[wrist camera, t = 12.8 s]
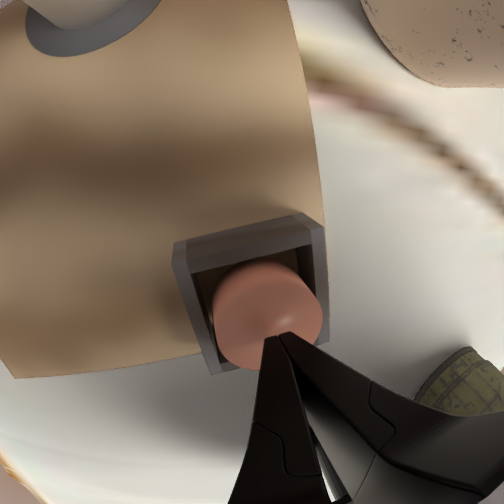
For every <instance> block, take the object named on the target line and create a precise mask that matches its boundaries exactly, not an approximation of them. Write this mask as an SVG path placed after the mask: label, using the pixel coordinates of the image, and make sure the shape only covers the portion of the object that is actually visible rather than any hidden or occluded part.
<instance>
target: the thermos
mask: <svg viewBox="0 0 504 504" xmlns="http://www.w3.org/2000/svg"><path fill="white" fill-rule="evenodd" d="M414 401H416V402H418V403H421V404H423V405H426V406H429V407H431V408H434V409H437V410H439V411H442V412H445V413H448V414H452V415H457V416H473V415H480V414H486V413H492V412H498V411H503V410H504V375H503V374H502V373H501V372H500V371H499V370H498V369H497V368H496V367H495V366H494V365H493V364H492V363H491V362H489V361H488V360H487V361H486V360H485V359H483V358H482V357H481V356H480V355H479V354H478V353H477V351H475V350H474V349H473V348H472V347H466V348H463V349H461V350H460V351H458V352H456V353H455V354H454V355H452V356H451V357H450V358H449V359H447V360H446V361H445V362H444V363H443V364H442V365H441V366H440V367H439V368H438V369H437V370H436V371H435V372H434V373H433V374H432V375H431V377H430V378H429V379H428V380H427V381H426V382H425V384H424V385H423V386H422V388H421V389H420V391H419V392H418V393H417V395H416V398H415V400H414Z"/></svg>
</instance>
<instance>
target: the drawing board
mask: <svg viewBox="0 0 504 504" xmlns="http://www.w3.org/2000/svg"><path fill="white" fill-rule="evenodd" d="M257 257H270V258H275V259H278V260H281V261H283V262H285V263H287V264H288V265H290V266H291V267H292V268H293V269H294V270H295V271H296V273H297V274H298V275H299V277H300V278H301V279H302V280H303V282H304V283H305V284H306V286H307V287H308V288H309V290H310V291H311V292H312V293H313V295H314V296H315V297H316V299H317V300H318V302H319V304H320V306H321V309H322V314H323V322H322V327H321V330H320V333H319V335H318V337H317V339H316V341H315V342H314V344H313V345H314V346H317V345H320V344H323V343H326V342H328V341H329V317H330V315H329V287H328V267H327V251H326V238H325V225H324V214H323V203H322V194H321V185H320V176H319V168H318V160H317V152H316V145H315V138H314V131H313V125H312V118H311V112H310V106H309V100H308V94H307V89H306V84H305V78H304V73H303V68H302V63H301V58H300V54H299V49H298V44H297V40H296V35H295V31H294V27H293V23H292V19H291V15H290V11H289V7H288V3H287V0H129V1H128V2H127V3H126V4H125V5H124V6H123V7H122V8H121V9H120V10H118V11H117V12H116V13H114V14H113V15H112V16H110V17H109V18H107V19H105V20H103V21H101V22H99V23H97V24H95V25H93V26H90V27H87V28H83V29H77V30H65V29H61V28H59V27H57V26H55V25H54V24H53V23H51V22H50V21H49V20H47V19H46V18H45V17H44V16H42V15H41V14H40V13H38V12H37V11H36V10H34V9H33V8H32V7H30V6H29V5H28V4H26V3H25V2H24V1H22V0H15V1H13V2H12V3H10V4H9V5H7V6H6V7H4V8H3V9H1V10H0V358H1V360H2V361H3V363H4V364H5V366H6V367H7V368H8V370H9V371H10V373H11V374H12V375H13V377H14V378H15V379H18V378H35V377H49V376H60V375H70V374H79V373H87V372H95V371H103V370H110V369H117V368H123V367H130V366H136V365H141V364H147V363H153V362H158V361H163V360H169V359H174V358H179V357H183V356H188V355H193V354H197V353H203V356H204V359H205V361H206V364H207V366H208V369H209V371H210V374H211V375H212V374H217V373H221V372H225V371H229V370H234V369H238V368H241V367H239V366H236V365H235V364H233V363H231V362H230V361H229V360H227V359H226V358H225V357H224V355H223V354H222V353H221V351H220V349H219V347H218V343H217V339H216V333H215V327H214V321H213V315H212V309H211V296H212V292H213V289H214V287H215V285H216V283H217V281H218V280H219V278H220V277H221V276H222V275H223V274H224V273H225V272H226V271H227V270H228V269H229V268H231V267H232V266H234V265H235V264H237V263H239V262H241V261H245V260H249V259H253V258H257Z"/></svg>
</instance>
